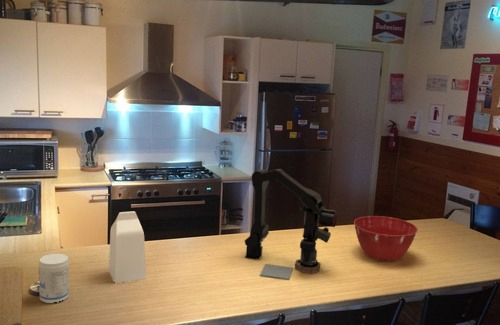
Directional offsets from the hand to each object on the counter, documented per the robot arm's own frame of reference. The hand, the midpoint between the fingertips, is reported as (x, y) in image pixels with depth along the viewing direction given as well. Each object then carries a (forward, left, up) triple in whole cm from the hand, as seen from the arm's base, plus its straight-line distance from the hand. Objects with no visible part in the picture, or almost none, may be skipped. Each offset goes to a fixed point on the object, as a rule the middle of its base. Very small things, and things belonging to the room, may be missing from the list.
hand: (308, 257), depth 203 cm
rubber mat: (-12, -8, -5) cm, 15 cm away
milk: (-68, -31, -5) cm, 75 cm away
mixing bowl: (+32, +27, -5) cm, 42 cm away
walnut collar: (0, 0, -5) cm, 5 cm away
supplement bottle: (0, 0, -5) cm, 5 cm away
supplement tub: (-83, -56, -5) cm, 100 cm away
